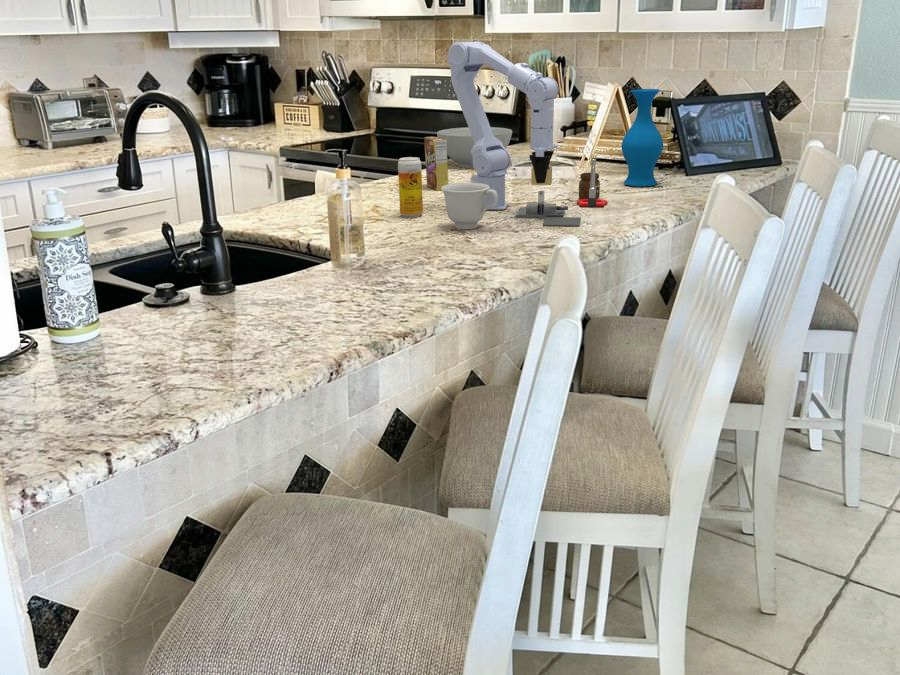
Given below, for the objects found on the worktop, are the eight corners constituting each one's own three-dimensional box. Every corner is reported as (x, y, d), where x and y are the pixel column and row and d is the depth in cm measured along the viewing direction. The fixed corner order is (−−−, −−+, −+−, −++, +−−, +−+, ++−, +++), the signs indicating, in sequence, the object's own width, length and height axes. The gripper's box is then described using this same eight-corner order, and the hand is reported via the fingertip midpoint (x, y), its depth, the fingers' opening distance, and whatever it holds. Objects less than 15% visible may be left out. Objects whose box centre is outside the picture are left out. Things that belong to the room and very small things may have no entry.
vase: (669, 184, 257) (675, 89, 247) (640, 189, 250) (645, 92, 241) (640, 180, 266) (644, 87, 257) (611, 184, 260) (615, 90, 250)
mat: (542, 226, 208) (542, 224, 208) (545, 218, 216) (545, 216, 216) (579, 226, 206) (579, 225, 206) (580, 218, 215) (580, 217, 214)
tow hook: (577, 202, 237) (576, 207, 228) (578, 156, 233) (577, 159, 225) (607, 203, 236) (607, 208, 227) (609, 156, 232) (609, 159, 223)
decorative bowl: (522, 161, 309) (522, 127, 305) (496, 172, 287) (496, 136, 282) (455, 158, 320) (455, 126, 316) (425, 169, 297) (424, 134, 293)
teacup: (485, 235, 200) (484, 193, 197) (432, 229, 207) (431, 189, 204) (509, 225, 210) (509, 185, 206) (458, 220, 217) (457, 181, 214)
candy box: (425, 186, 265) (423, 137, 259) (438, 185, 266) (436, 136, 261) (436, 191, 257) (434, 140, 252) (449, 189, 259) (447, 139, 253)
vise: (516, 217, 218) (516, 194, 216) (520, 209, 227) (520, 187, 225) (566, 218, 216) (567, 195, 214) (568, 210, 225) (569, 188, 223)
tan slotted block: (531, 185, 217) (531, 169, 215) (532, 181, 221) (533, 166, 220) (550, 185, 216) (551, 169, 215) (551, 181, 221) (552, 166, 219)
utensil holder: (575, 199, 238) (576, 157, 234) (582, 196, 244) (584, 154, 239) (595, 201, 236) (597, 157, 232) (602, 197, 241) (604, 154, 237)
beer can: (406, 219, 220) (403, 161, 215) (396, 215, 225) (393, 158, 220) (426, 216, 222) (424, 158, 217) (417, 212, 227) (414, 156, 222)
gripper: (556, 130, 206) (555, 186, 211) (559, 124, 220) (558, 176, 224) (527, 130, 208) (527, 185, 212) (532, 124, 221) (531, 176, 226)
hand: (541, 181), depth 218 cm, fingers closed on tan slotted block, 5 cm apart
